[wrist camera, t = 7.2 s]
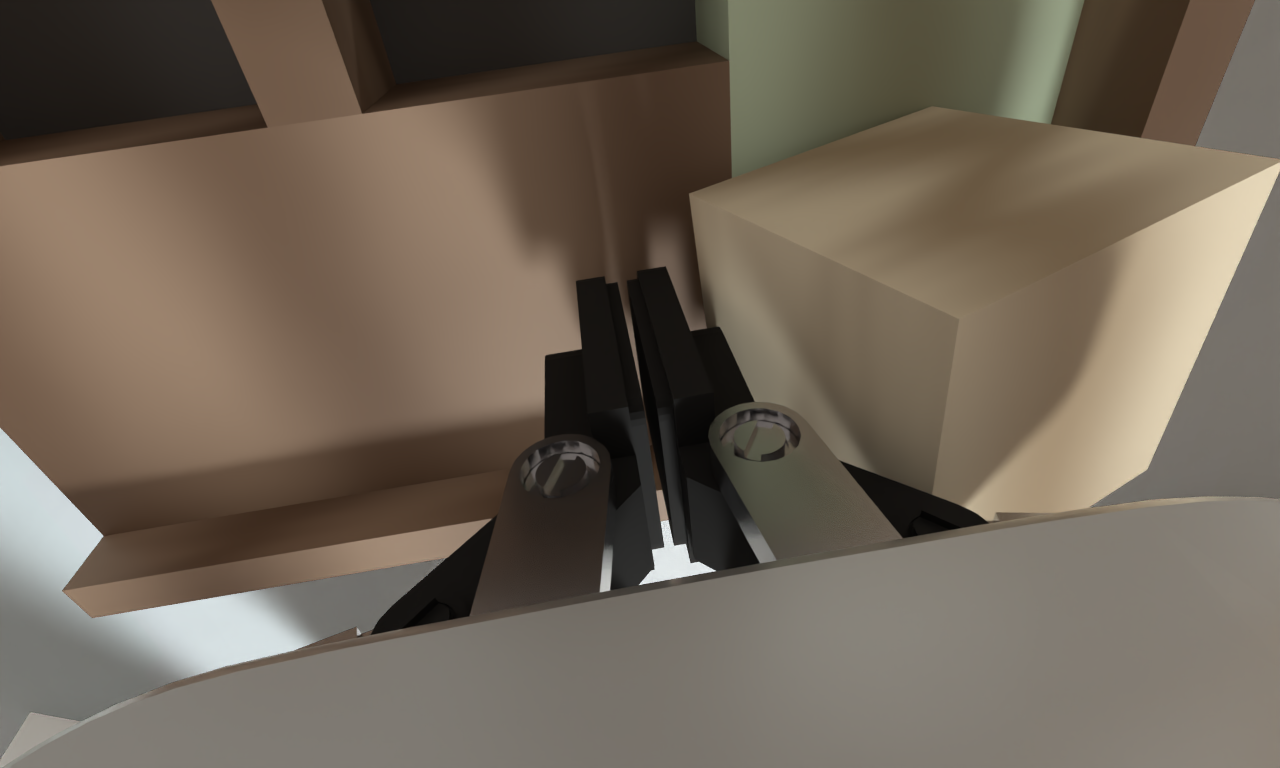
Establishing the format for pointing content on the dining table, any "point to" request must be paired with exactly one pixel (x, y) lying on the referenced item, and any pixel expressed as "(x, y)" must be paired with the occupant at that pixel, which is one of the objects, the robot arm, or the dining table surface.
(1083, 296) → the maple block
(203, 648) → the dining table surface
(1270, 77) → the dining table surface
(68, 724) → the milk
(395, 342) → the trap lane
